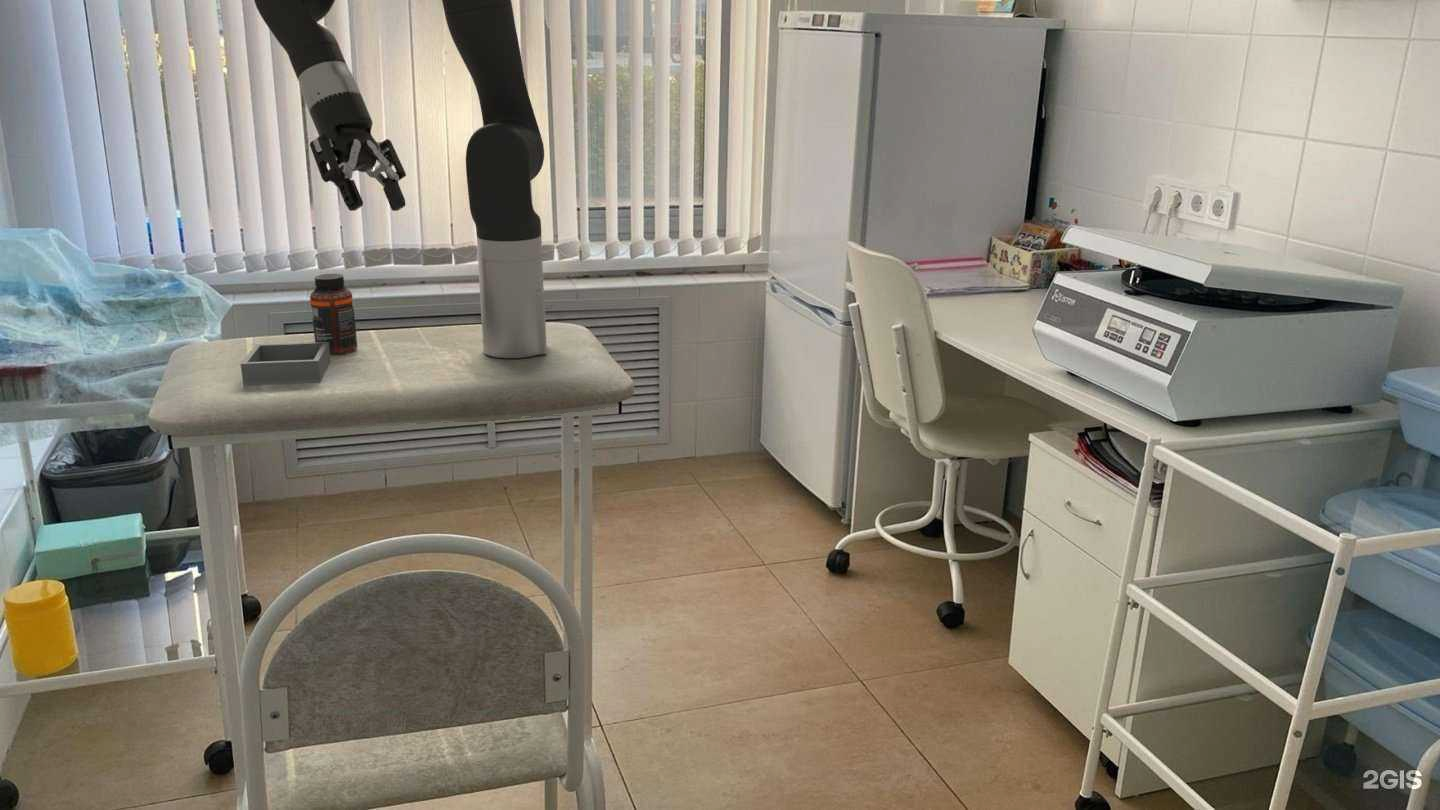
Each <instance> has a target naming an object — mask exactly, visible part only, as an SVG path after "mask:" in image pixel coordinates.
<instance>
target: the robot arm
mask: <svg viewBox="0 0 1440 810" xmlns="http://www.w3.org/2000/svg"><path fill="white" fill-rule="evenodd" d="M253 2H254V4H255V7H256V9H257V11H258V13H259V15H260V16H261V18H262V20H263V22H264V23H265V25H266V26H267V27H268V29H269V30H270V32H271V34H272V35H273V36H274V38H275V39H276V41H277V42H278V43H279V45H280V46H281V47H282V48H283V49H284V51H285V52H286V54H287V55H288V58H289V62H290V63H291V66H292V69H293V71H294V74H295V76H296V79H297V81H298V83H299V88H300V91H301V94H302V98H303V101H304V102H305V105H306V107H307V110H308V112H309V115H310V117H311V119H312V123H313V124H314V127H315V129H316V132H317V134H318V137H316V138H314V139H313V140H312V141H311V142H309V146H310V149H311V152H312V155H313V157H314V160H315V163H316V166H317V169H318V171H319V174H320V177H321V179H322V181H323V182H325V183H328V182H331V183H333V184H334V186H336V187H338V190H339V192H340V195H341V197H342V199H343V201H344V205H345V206H346V207H347V209H348V210H349V212H351V211H354V212H355V211H357V210H358V209H360V208H362V207H363V206H364V205H363V204H364V202H363V198H362V197H361V195H360V191H359V189H358V187H357V184H356V182H355V180H354V179H352V178H353V174H354V172H356V171H357V172H361V173H365V174H367V175H368V176H369V178H371V179H372V178H373V179H375V180H376V181H377V182H379V184H380V185H381V186H382V187H383V188H382V189H383V191H384V194H385V196H386V199H387V202H388V205H389V207H390V209H391V210H392V211H395V212H397V211H400V210H402V209H403V208H404V207H406V199H405V197H404V195H403V192H402V189H401V186H400V184H399V181H400V180H402V179H404V178H405V177H407V173H406V171H405V168H404V167H403V165H402V163H401V160H400V158H399V156H398V153H397V152H396V150H395V148H394V147H395V146H394V145H393V143H392V141H391V140H390V139H389V138H386V139H384V140H383V141H376V139H375V138H374V137H373V135H372V134H371V133H372V131H371V130H372V127H373V119H372V118H371V117H372V116H370V113H369V110H368V108H367V105H366V103H365V99H364V98H363V96H362V93H361V91H360V89H359V86H358V83H357V81H356V78H355V77H354V76H353V73H352V71H350V68H349V67H348V66H349V65H347V61H346V60H345V58H344V55H343V53H342V50H341V48H340V45H339V42H338V39H336V36H335V35H334V33H332V32H331V31H330V30H329V29H328V28H326V27H324V26H322V25H321V24H319V23H318V22H320V21H321V20H323V19H324V17H325V16H327V15H328V13H329V12H330V11H331V9H332V7H333V5H334V3H335V2H336V0H254V1H253ZM441 2H442V6H443V7H442V8H443V11H444V16H445V20H446V24H447V27H448V32H449V34H450V37H451V39H452V40H453V43H454V46H455V48H456V49H457V51H458V53H459V55H460V57H461V60H462V61H463V63H464V65H465V67H466V69H467V71H468V73H469V75H470V77H471V79H472V81H473V84H474V87H475V89H476V92H477V96H478V101H479V105H480V111H481V116H482V124H483V125H482V126H481V127H480V128H478V129H477V130H475V131H474V132H473V133H472V135H471V136H470V138H469V139H468V143H467V146H466V151H465V171H466V182H467V185H466V186H467V195H468V203H469V211H470V215H471V218H472V221H473V222H474V225H475V229H476V230H475V233H476V247H477V264H478V265H477V266H478V281H479V299H480V315H481V329H482V330H481V332H482V333H481V335H482V337H481V339H482V347H483V354H485V355H487V356H489V357H492V358H498V359H499V358H500V359H522V358H528V357H534V356H538V355H547V353H548V352H547V329H546V303H545V301H546V298H545V288H544V286H545V285H544V272H543V270H544V269H543V268H544V267H543V264H544V263H543V248H542V245H543V243H542V240H543V239H542V220H541V217H540V215H539V214H537V212H536V211H535V209H534V205H533V200H532V199H533V198H532V183H531V182H532V181H533V180H534V179H535V178H537V176H538V175H539V174H540V172H541V170H542V168H543V165H544V160H545V148H544V142H543V139H542V138H543V137H542V135H541V131H540V127H539V125H538V122H537V118H536V115H535V112H534V109H533V104H532V102H531V99H530V95H529V91H528V87H527V84H526V83H527V82H526V79H525V73H524V67H523V61H522V53H521V49H520V44H519V38H518V33H517V28H516V22H515V14H514V8H513V3H512V0H441ZM377 162H378V163H379V164H378V165H377V166H376V164H377ZM327 164H328V166H327ZM328 167H329V169H328ZM392 167H394V169H395V171H394V169H393V168H392ZM382 172H383V173H384V174H385V176H384V174H382Z"/></svg>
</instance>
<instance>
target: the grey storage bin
mask: <svg viewBox="0 0 1440 810" xmlns="http://www.w3.org/2000/svg"><path fill="white" fill-rule="evenodd" d="M331 363H332V359H331V355H330V348H329V342H315V341H313V342H288V343H287V342H286V343H257V344H255V345H254V346H253V347H252V348H251V350H250V351H249V352H248V354H246V356H245V358H244V359H243V360H242V361H241V363H240V369H241V378H242V379H241V380H242V385H243V386H255V385H256V386H258V385H259V386H260V385H264V386H265V385H283V384H286V385H287V384H302V383H303V384H304V383H305V384H306V383H308V384H309V383H310V384H311V383H321V382H322V380H323V378H324V376H325V374H326V372H327V371H328V369H329V367H330V364H331Z"/></svg>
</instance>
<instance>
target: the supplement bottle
mask: <svg viewBox="0 0 1440 810" xmlns="http://www.w3.org/2000/svg"><path fill="white" fill-rule="evenodd" d="M314 285H315V289H314V290H313V291H312V292H311V293H310V296H309V302H310V308H311V309H310V310H311V317H312V319H311V320H312V326H313V327H312V328H313V334H314V335H313V337H314V342H329V348H330V356H336V355H337V356H338V355H346V354H350V353H352V352H354V351H355V350H357V348H358V336H357V327H356V317H355V308H354V307H355V305H354V300H353V299H354V298H353V293H352V291H351V290H350V289H349V288H347V287H346V285H345V278H344V275H343V274H341V273H325V274H319V275H316V276H314Z"/></svg>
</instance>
